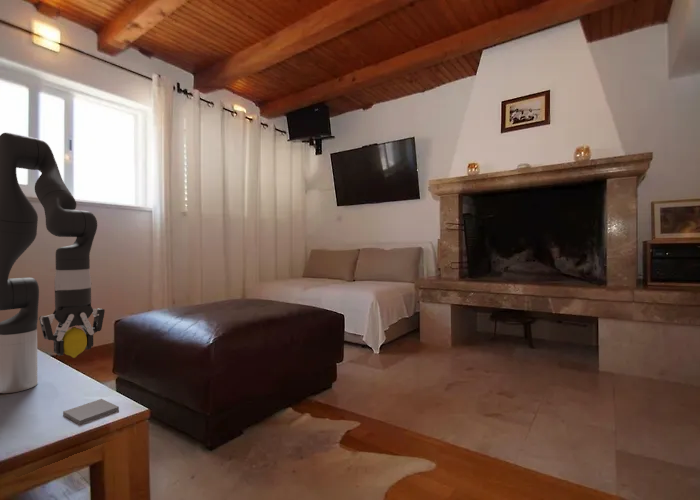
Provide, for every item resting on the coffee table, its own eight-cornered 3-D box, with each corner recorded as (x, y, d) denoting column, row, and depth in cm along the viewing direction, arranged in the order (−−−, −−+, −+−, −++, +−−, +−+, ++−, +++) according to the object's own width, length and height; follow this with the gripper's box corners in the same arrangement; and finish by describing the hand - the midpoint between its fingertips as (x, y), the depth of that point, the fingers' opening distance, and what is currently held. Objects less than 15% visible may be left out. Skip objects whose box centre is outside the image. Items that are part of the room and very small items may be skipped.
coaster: (63, 415, 94) (63, 411, 94) (101, 402, 101) (101, 398, 101) (79, 424, 89) (79, 420, 89) (118, 410, 97) (118, 406, 97)
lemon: (83, 353, 98) (83, 323, 98) (90, 357, 95) (89, 326, 95) (58, 358, 94) (57, 327, 94) (63, 362, 91) (63, 330, 91)
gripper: (97, 283, 102) (98, 343, 103) (32, 288, 90) (33, 356, 90) (110, 285, 98) (111, 347, 99) (44, 290, 86) (45, 362, 86)
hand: (74, 351), depth 95 cm, fingers closed on lemon, 5 cm apart
